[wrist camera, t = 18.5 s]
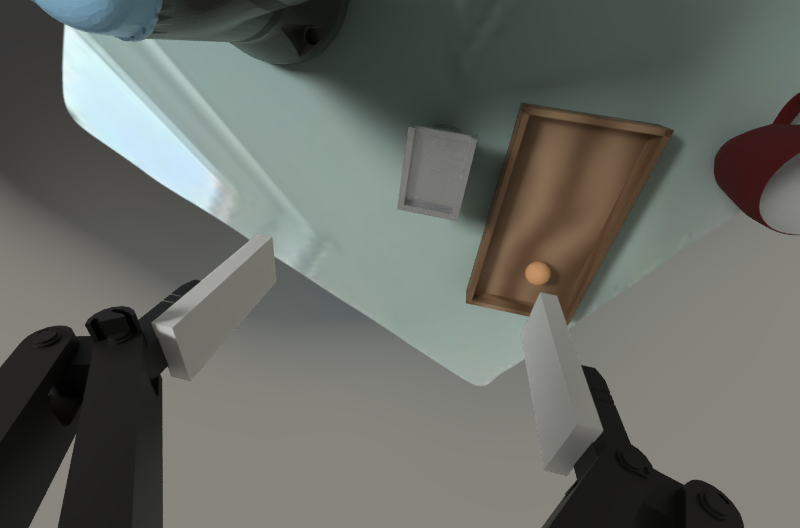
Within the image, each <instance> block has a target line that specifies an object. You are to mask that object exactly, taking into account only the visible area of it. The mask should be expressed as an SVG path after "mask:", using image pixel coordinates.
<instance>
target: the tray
mask: <svg viewBox="0 0 800 528" xmlns="http://www.w3.org/2000/svg"><path fill="white" fill-rule="evenodd" d="M673 131H674V130H671V129H669V128H666V127H663V126H661V125H657V124H651V123H645V122H638V121H632V120H626V119H620V118H613V117H607V116H601V115H594V114H588V113H582V112H576V111H569V110H563V109H557V108H550V107H544V106H538V105H532V104H525V103H521V107H520V110H519V114H518V117H517V120H516V124H515V127H514V131H513V134H512V137H511V141H510V144H509V148H508V151H507V154H506V158H505V161H504V165H503V168H502V171H501V175H500V178H499V182H498V185H497V188H496V192H495V195H494V199H493V202H492V205H491V209H490V212H489V216H488V219H487V222H486V226H485V229H484V233H483V236H482V239H481V243H480V246H479V250H478V253H477V256H476V260H475V263H474V267H473V270H472V273H471V277H470V280H469V284H468V287H467V292H466V303H468V304H473V305H478V306H482V307H487V308H492V309H496V310H501V311H506V312H510V313H515V314H520V315H524V316H530V314H531V311H532V309H533V307H534V305H535V302H536V300H537V298H538V296H539V294H540V292H542V293H547V294H551V295H556V296H557V297H558V300H559V303H560V306H561V309H562V312H563V315H564V318H565V320H566V323H567V325H568V324H569V322H570V321H571V319H572V317H573V315H574V313H575V311H576V310H577V308H578V306H579V304H580V302H581V300H582V299H583V297H584V295H585V293H586V291H587V289H588V287H589V286H590V284H591V282H592V280H593V278H594V276H595V275H596V273H597V271H598V269H599V267H600V265H601V264H602V262H603V260H604V258H605V256H606V254H607V253H608V251H609V249H610V247H611V245H612V243H613V241H614V240H615V238H616V236H617V234H618V232H619V230H620V229H621V227H622V225H623V223H624V221H625V219H626V218H627V216H628V214H629V212H630V210H631V208H632V206H633V205H634V203H635V201H636V199H637V197H638V195H639V194H640V192H641V190H642V188H643V186H644V184H645V183H646V181H647V179H648V177H649V175H650V173H651V171H652V170H653V168H654V166H655V164H656V162H657V160H658V159H659V157H660V155H661V153H662V151H663V149H664V148H665V146H666V144H667V142H668V140H669V138H670V137H671V135H672V133H673ZM536 261H539V262H543V263H545V264H547V265H548V267H549V268H550V271H551V276H550V279H549V280H548V281H547V282H546V283H545V284H543V285H534V284H531V283H530V282H529V281H528V280H527V278H526V276H525V271H526V268H527V266H528V265H529V264H531V263H533V262H536Z"/></svg>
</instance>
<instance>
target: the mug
mask: <svg viewBox="0 0 800 528" xmlns="http://www.w3.org/2000/svg"><path fill="white" fill-rule="evenodd" d="M799 112H800V93H798V94H797V95H795V96H794V97H793V98H792V99H791V100H790V101H788V103H787V104H786V105H785V106H784V107H783V109H782V110H781V111H780V113H779V114H778V116H777V117H776V119H775V121H774V122H773V124H771V125H767V126H764V127H760V128H757V129H754V130H751V131H748V132H745V133H743V134H741V135H739V136H737V137H734V138H732V139H731V140H729V141H728V142H727V143H725V144H724V145H723V146H722V147H721V148H720V150H719V151H718V153H717V155H716V157H715V161H714V175H715V179H716V181H717V183H718V185H719V187H720V188H721V189H722V190H723V191H724V192H725V193H726V194H727V196H728V197H729V198H730V199H731V200H732V201H733V202H734V203H735V204H736V205H737V206H738V207H739V208H740V209H741V210H742V211H743V212H744V213H745V214H746V215H748V216H749V217H751V218H752V219H754V220H755V221H757V222H759V223H761V224H762V225H764V226H766V227H768V228H770V229H772V230H774V231H777V232H780V233H783V234H789V235H800V125H790V124H791V122H792V121H793V119H794V118H795V117H796V116H797V115H798V114H799Z"/></svg>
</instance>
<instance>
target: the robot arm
mask: <svg viewBox="0 0 800 528" xmlns="http://www.w3.org/2000/svg"><path fill="white" fill-rule="evenodd" d="M31 1H33V2H35V3H37V4H38V5H39V6H40V7H41V8H42V9H43V10H44V11H46V12H47V13H48V14H49V15H50V16H52V17H53V18H55V19H57V20H59V21H60V22H62V23H64V24H66V25H68V26H70V27H73V28H75V29H78V30H81V31H84V32H88V33H93V34H100V35H108V36H114V37H116V38H119V39H121V40H123V41H134V42H136V41H141V40H144V39H165V40H190V41H215V42H229V43H231V44H232V45H234V46H235V47H237V48H238V49H240V50H241V51H243V52H244V53H246V54H248V55H250V56H251V57H254V58H256V59H258V60H261V61H264V62H268V63H273V64H295V63H301V62H304V61H307V60H310V59H312V58H314V57H315V56H317V55H318V54H320V53H321V52H322V51H323V50H325V49H326V48H327V47H328V46H329V44H330V43H331V42H332V41H333V39H334V38H335V36H336V35H337V33H338V31H339V29H340V27H341V25H342V23H343V20H344V17H345V14H346V10H347V6H348V1H349V0H31ZM275 282H276V271H275V261H274V250H273V240H272V237H271V236H266V235H261V234H257V235H256V236H254V237H253V238H252V239H251V240H250V241H248V242H247V243H246V244H245V245H244V246H243V247H241V248H240V249H239V250H238V251H237V252H235V253H234V254H233V255H232V256H231V257H229V258H228V259H227V260H226V261H225V262H223V263H222V264H221V265H220V266H219V267H217V268H216V269H215V270H214V271H213V272H211V273H210V274H209V275H208V276H207V277H206V278H204V279H203V280H202V281H198V280H193V281H191V282H188V283H186V284H184V285H182V286H181V287H179V288H178V289H177V290H175V291H174V292H173V293H172V295H169V296H168V297H167V298H165V299H164V301H163V302H160V303H159V304H158V305H156V306H155V307H154V308H153V309H152V310H150V311H149V312H148V313H146V314H145V315H144V316H143V317H141V318H140V319H139V320H138V319H137V316H136V314H135V311H134V310H133V309H131V308H130V307H123V306H120V307H111V308H108V309H104V310H102V311H100V312H98V313H96V314H94V315H93V316H92V317H90V318H89V319H88V320H87V322H86V324H85V326H86V328H87V330H88V332H89V333H90V335H91V336H75V334H74V332H73V330H72V329H71V328H70V327H67V326H52V327H47V328H44V329H42V330H39V331H36V332H34V333H33V334H31V335H29V336H27V337H26V338H25V339H24V340H23V341H22V342H21V343H20V344H19V345H18V347H17V348H16V349H15V350H14V351H13V353H12V354H11V355H10V356H9V358H8V359H7V360H6V361H5V362H4V364H3V365H2V366H1V367H0V528H28V527H29V526H30V523H31V522H32V520H33V518H34V516H35V513H36V512H37V510H38V508H39V506H40V504H41V502H42V500H43V498H44V496H45V494H46V492H47V490H48V488H49V486H50V484H51V482H52V480H53V478H54V476H55V474H56V472H57V470H58V468H59V466H60V464H61V462H62V460H63V458H64V456H65V454H66V452H67V451H68V449H69V447H70V444H71V443H72V441H73V439H74V437H75V435H76V438H75V444H74V449H73V454H72V459H71V464H70V469H69V474H68V479H67V484H66V489H65V494H64V499H63V504H62V509H61V515H60V520H59V524H58V528H163V485H162V484H163V479H162V478H163V474H162V473H163V471H162V470H163V469H162V468H163V467H162V464H163V458H162V377H161V375H160V373H161V372H162V371H163V370H164V369H165V368H166V367H167V366H168V368H169V371H170V373H171V376H172V377H176V378H180V379H184V380H188V381H191V380H192V378H193V377H194V376H195V375H196V374H197V373H198V372H199V370H200V369H201V368H202V367H203V366H204V365H205V363H206V362H207V361H208V360H209V359H210V358H211V357H212V355H213V354H214V353H215V352H216V350H218V348H219V347H220V346H221V345H222V344H223V343H224V341H225V340H226V339H227V338H228V337H229V335H231V333H232V332H233V331H234V330H235V329H236V328H237V327H238V325H239V324H240V323H241V322H242V321H243V319H244V318H245V317H246V316H247V315H248V314H249V312H250V311H251V310H252V309H253V308H254V307H255V306H256V304H257V303H258V302H259V301H260V300H261V299H262V297H263V296H264V295H265V294H266V293H267V292H268V291H269V289H270V288H271V287H272V286H273V285H274V283H275ZM521 338H522V343H523V349H524V355H525V361H526V367H527V372H528V379H529V385H530V390H531V396H532V402H533V408H534V414H535V420H536V426H537V432H538V438H539V443H540V450H541V456H542V461H543V467H544V470H546V471H550V472H554V473H558V474H561V475H566V476H567V475H568V474H569V472H570V471H571V470H572V469H573V468H574V469H575V473H576V477H577V480H576V482H575V483H574V484H573V485H572V486H571V487H570V489H569V490H568V491H567V492H566V493H565V497H564V498H563V499H562V501H561V502H560V504H559V505H558V506H557V507H556V509H555V510H554V512H553V513H552V514H551V516H550V517H549V518H548V520H547V521H546V523H545V524H544V525H543V527H542V528H744V524H743V521H742V518H741V515H740V513H739V511H738V510H737V509H736V507H735V505H734V504H733V503H732V502H731V501H730V500H729V499H728V498H727V497H726V496H725V495H724V494H723V493H722V492H721V491H719V490H718V489H717V488H715V487H714V486H712V485H710V484H708V483H706V482H704V481H701V480H691V481H689V482H688V483H686V484H685V485H683V484H681V483H679V482H677V481H675V480H673V479H672V478H670V477H668V476H666V475H664V474H662V473H660V472H658V471H657V470H655V469H653V467H652V465H651V463H650V462H649V460H648V459H647V457H646V456H645V455H644V454H643V453H642V452H641V451H640V450H639V449H637V448H636V447H634V446H633V445H631V443H630V441H629V439H628V436H627V433H626V431H625V429H624V426H623V424H622V421H621V419H620V416H619V414H618V411H617V409H616V406H615V405H614V401H613V399H612V396H611V395H610V391H609V389H608V386H607V384H606V381H605V380H604V378H603V377H602V376H601V375H600V373H599V372H598V371H597V370H596V369H595V368H592V367H587V366H583V365H581V364H580V361H579V358H578V355H577V352H576V349H575V347H574V344H573V341H572V338H571V335H570V332H569V329H568V326H567V323H566V320H565V318H564V315H563V312H562V309H561V306H560V303H559V300H558V297H557V296H556V295H551V294H547V293H542V292H540V294H539V296H538V298H537V300H536V302H535V305H534V307H533V309H532V311H531V314H530V316H529V318H528V320H527V323H526V325H525V327H524V329H523V331H522V334H521Z"/></svg>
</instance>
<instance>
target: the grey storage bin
mask: <svg viewBox="0 0 800 528" xmlns="http://www.w3.org/2000/svg"><path fill="white" fill-rule="evenodd" d="M477 139H478V137H477V135H471V134H466V133H461V132H460V131H459V130H458V129H456V128H454V127H452V126H448V125H437V126H433V127H426V126H420V125H414V124H411V125H410V126H409V127H408V133H407V141H406V148H405V156H404V163H403V171H402V178H401V186H400V193H399V200H398V208H397V209H399V210H404V211H409V212H414V213H419V214H424V215H429V216H434V217H439V218H444V219H449V220H454V221H458V217H459V213H460V209H461V204H462V200H463V196H464V192H465V188H466V184H467V180H468V176H469V172H470V168H471V164H472V160H473V156H474V152H475V148H476V144H477Z"/></svg>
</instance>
